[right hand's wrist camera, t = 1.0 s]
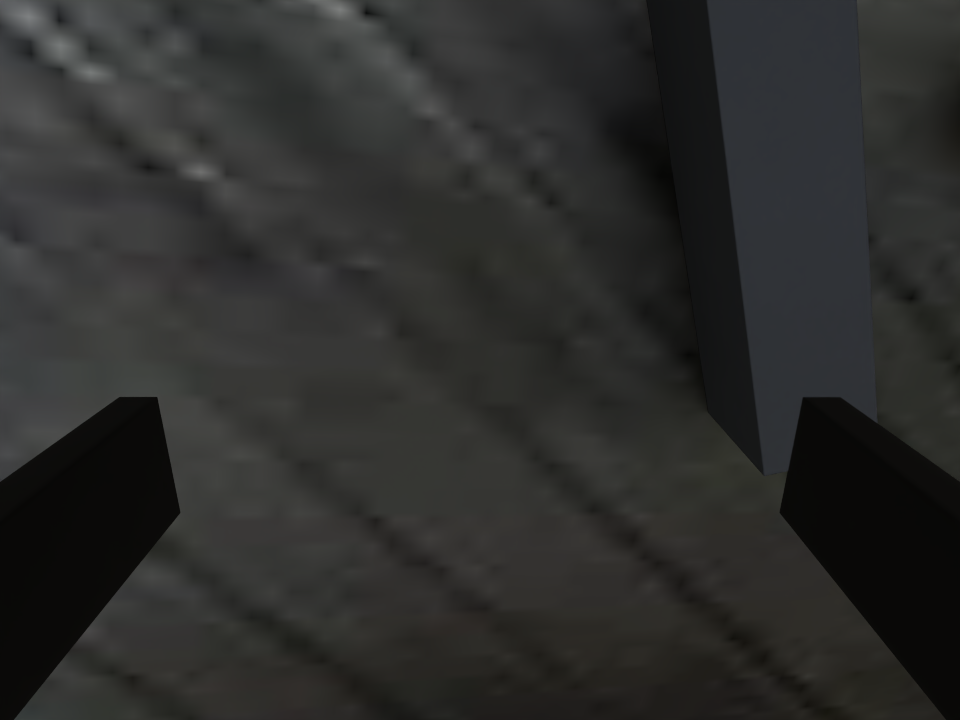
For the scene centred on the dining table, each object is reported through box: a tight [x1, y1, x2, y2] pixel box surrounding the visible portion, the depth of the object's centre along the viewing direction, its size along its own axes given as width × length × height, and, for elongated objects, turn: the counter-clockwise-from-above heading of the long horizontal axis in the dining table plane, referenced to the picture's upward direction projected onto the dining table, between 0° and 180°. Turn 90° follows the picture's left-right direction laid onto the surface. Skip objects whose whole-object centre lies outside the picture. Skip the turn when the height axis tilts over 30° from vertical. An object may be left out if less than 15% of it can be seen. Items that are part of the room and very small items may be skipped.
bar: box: [647, 0, 877, 476], centre depth 30 cm, size 26×6×8 cm, turn 15°
